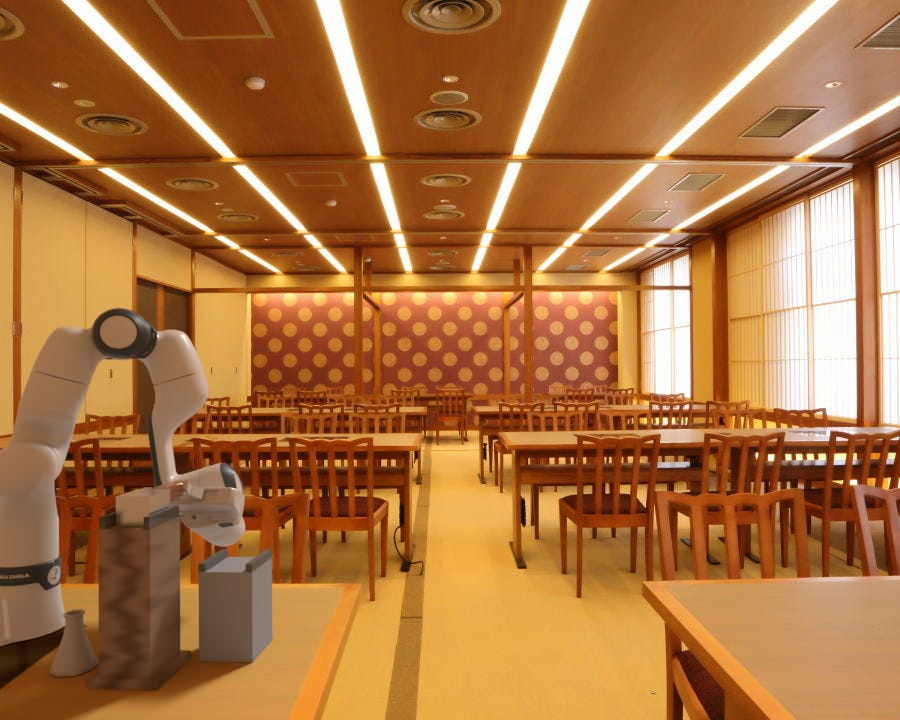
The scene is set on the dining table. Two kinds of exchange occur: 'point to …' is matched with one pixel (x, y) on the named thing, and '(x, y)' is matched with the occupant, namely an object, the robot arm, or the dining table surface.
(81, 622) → the flask
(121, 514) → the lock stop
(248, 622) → the grey post
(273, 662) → the dining table surface
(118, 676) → the tall post
